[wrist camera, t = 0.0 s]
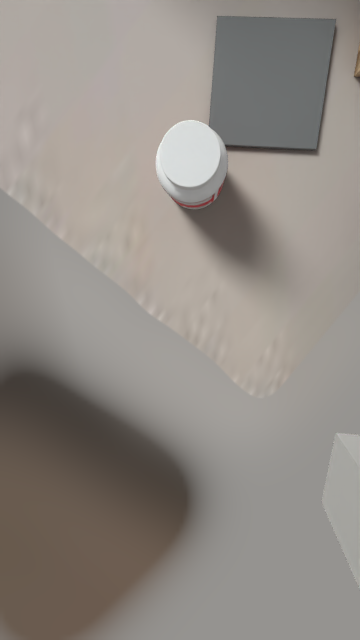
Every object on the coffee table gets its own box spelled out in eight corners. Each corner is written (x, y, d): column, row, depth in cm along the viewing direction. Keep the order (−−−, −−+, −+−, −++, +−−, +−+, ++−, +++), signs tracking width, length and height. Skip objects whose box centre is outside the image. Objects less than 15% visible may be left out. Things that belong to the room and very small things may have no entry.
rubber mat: (217, 20, 32) (217, 16, 31) (333, 23, 31) (336, 19, 30) (207, 145, 34) (207, 143, 34) (314, 150, 34) (316, 148, 33)
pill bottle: (195, 135, 34) (191, 87, 23) (235, 179, 35) (248, 153, 24) (154, 180, 35) (132, 154, 25) (193, 222, 36) (188, 215, 26)
